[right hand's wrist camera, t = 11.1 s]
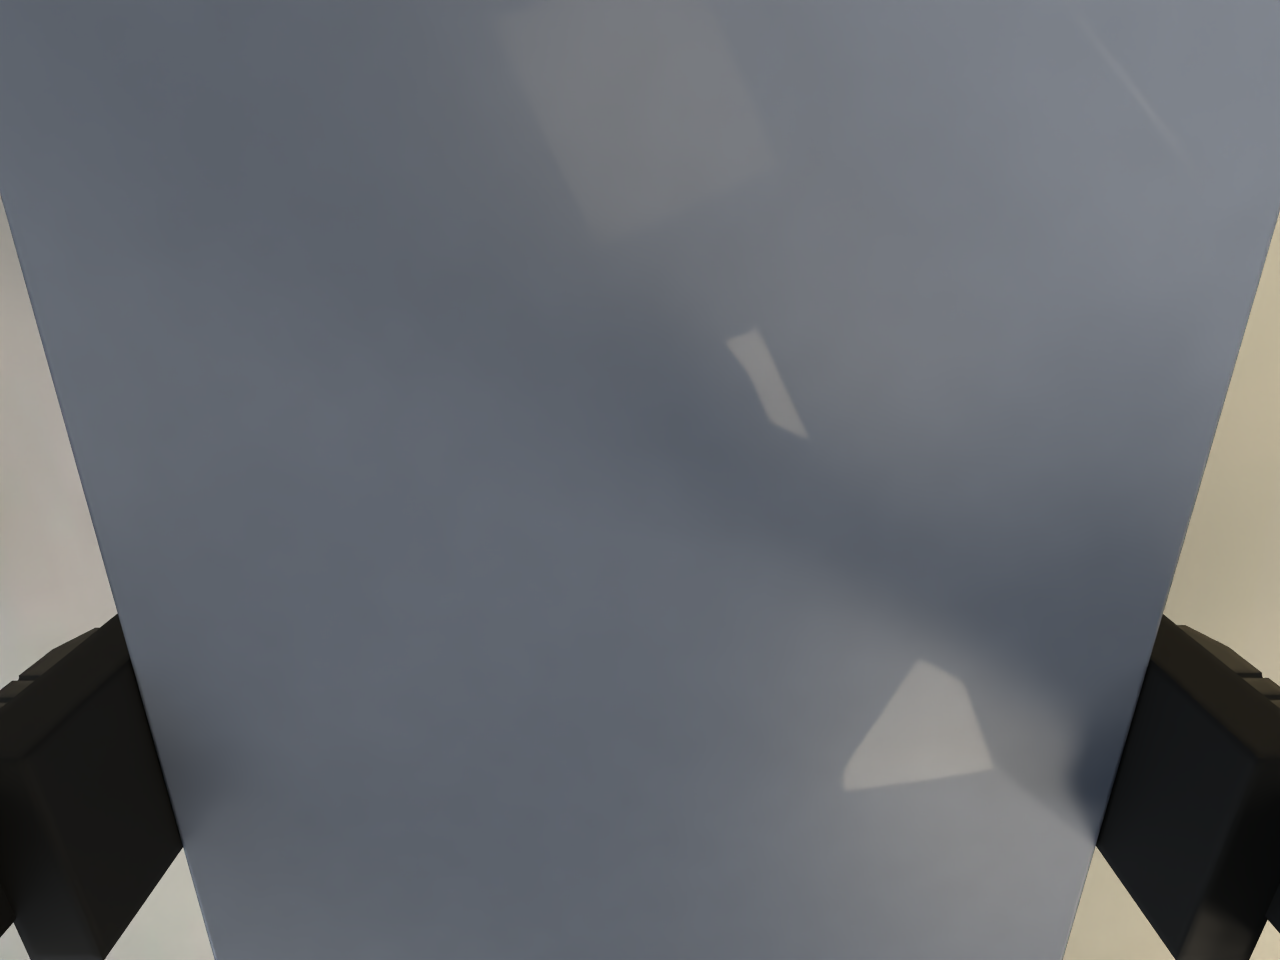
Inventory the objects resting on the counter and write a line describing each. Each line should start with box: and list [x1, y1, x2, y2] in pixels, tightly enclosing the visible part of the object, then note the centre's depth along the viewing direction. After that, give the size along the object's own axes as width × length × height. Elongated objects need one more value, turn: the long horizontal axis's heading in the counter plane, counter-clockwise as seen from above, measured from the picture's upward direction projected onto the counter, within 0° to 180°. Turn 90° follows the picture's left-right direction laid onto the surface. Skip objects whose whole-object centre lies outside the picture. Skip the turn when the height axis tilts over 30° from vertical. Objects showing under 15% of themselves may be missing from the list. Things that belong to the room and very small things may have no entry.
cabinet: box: [0, 0, 1280, 960], centre depth 12 cm, size 16×11×11 cm
